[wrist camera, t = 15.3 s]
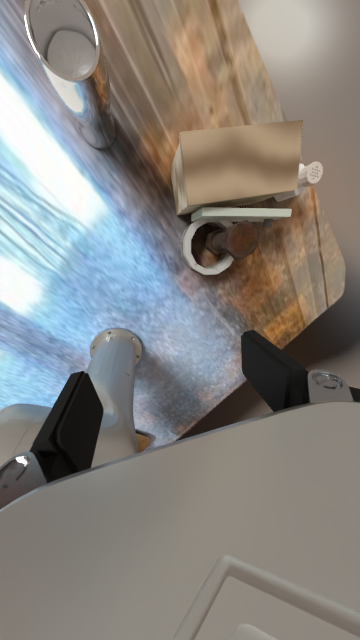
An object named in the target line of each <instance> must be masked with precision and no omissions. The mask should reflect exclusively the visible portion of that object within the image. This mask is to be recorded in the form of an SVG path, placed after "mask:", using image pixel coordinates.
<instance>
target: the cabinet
mask: <svg viewBox="0 0 360 640" xmlns="http://www.w3.org/2000/svg"><path fill="white" fill-rule="evenodd" d="M302 125H303V120H299V121H288V122H278V123H268V124H257V125H247V126H237V127H226V128H216V129H206V130H195V131H185V132H180V134H179V140H180V143H179V146H178V149H177V151H176V154H175V157H174V160H173V162H172V165H171V168H170V172H171V179H172V186H173V193H174V200H175V207H176V214H177V215H184V214H190V213H195V212H196V211H198V210H199V209H201V208H202V207H218V208H230V207H236V206H243V205H249V204H255V203H258V202H260V201H263V200H266V199H268V198H271V197H273V196H276V195H279V194H281V193H284V192H291V191H295V190H297V186H298V174H299V162H300V150H301V138H302ZM192 223H193V222H192ZM192 223H191V224H192ZM191 224H190V225H191ZM205 224H209V225H211V226H213V227H215V228H217V229H222V230H224V229H223V228H222V227H220V226H219V225H217V224H216V223H205ZM190 225H189V226H190ZM203 225H204V224H203ZM189 226H188V227H187V228H186V229H185V230H184V233H183V236H182V239H181V241H180V243H181V244H180V248H181V255H182V259H183V260H184V261H185V263H186V264H187V265H188V266H189V264H188V262H187V261H186V259H185V257H184V254H183V238H184V236H185V234H186V232H187V230H188V228H189ZM224 231H225V230H224ZM226 254H227V252H226V251H224V252H222V253H221V256H220V258H219V259H218V260H217V261H216V262H215V263H214V264H213V265H211V266H206V267H203V268H213V267H215V266H217V265H218V264H220V263H221V262H222V261H223V260H224V258H225V256H226ZM189 268H191V267H190V266H189ZM191 269H193V268H191ZM193 270H194V269H193ZM195 271H196V270H195Z"/></svg>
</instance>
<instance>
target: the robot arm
mask: <svg viewBox="0 0 360 640" xmlns="http://www.w3.org/2000/svg"><path fill="white" fill-rule="evenodd" d="M132 337H133V338H132ZM241 351H242V372H243V374H244V376H245V377H246V378H247V379H248V381H249V382H250V383H251V384H252V386H253V387H254V388H255V389H256V391H257V392H258V393H259V394H260V395H261V397H262V398H263V399H264V400H265V402H266V403H267V404H268V405H269V407H270V408H271V409H272V410H273V413H269V414H266V415H262V416H259V417H256V418H252V419H249V420H245V421H242V422H239V423H235V424H232V425H228V426H225V427H222V428H219V429H215V430H212V431H209V432H205V433H202V434H199V435H196V436H192V437H189V438H185V439H183V440H179V441H176V442H172V443H169V444H166V445H162V446H159V447H156V448H153V449H150V450H146V451H143V452H140V453H138V443H137V437H136V431H135V426H134V418H133V397H134V379H135V365H136V364H137V363H138V362H139V360H140V359H141V355H142V345H141V342H140V340H139V339H138V337H137V336H136V335H135V334H133V333H132V332H130V331H128V330H125V329H121V328H111V329H107V330H104V331H102V332H100V333H99V334H98V335H97V336H96V337H95V338H94V339H93V341H92V343H91V346H90V356H91V359H92V360H91V362H90V364H89V366H88V369H87V371H86V373H85V372H84V371H81V372H77V373H73V374H71V375H70V377H69V379H68V381H67V382H66V384H65V386H64V388H63V390H62V391H61V393H60V395H59V397H58V399H57V400H56V402H55V404H54V406H53V408H51V407H46V406H39V405H33V404H14V405H10V406H7V407H5V408H3V409H1V410H0V640H360V389H357V388H353V387H349V386H348V384H347V382H346V381H345V379H343V378H342V377H341V376H339V375H337V374H335V373H333V372H331V371H326V370H313V371H311V372H308V371H306V370H305V367H303V366H302V365H301V364H299V363H298V362H297V361H295V360H294V359H293V358H291V357H290V356H288V355H287V354H286V353H284V352H283V351H282V350H280V349H279V348H278V347H276V346H275V345H273V344H272V343H271V342H269V341H268V340H267V339H265V338H264V337H263V336H261V335H260V334H258V333H257V332H256V331H254V330H251V331H246V332H244V333H243V335H242V336H241Z"/></svg>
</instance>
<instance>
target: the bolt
mask: <svg viewBox="0 0 360 640" xmlns="http://www.w3.org/2000/svg"><path fill="white" fill-rule="evenodd" d="M257 242H258V231H257V229H256V228H255V227H254V225H253V224H252V223H251V222H249V221H248V220H243V221H241V222H238V223H236V224H234V225H232V226H229V227H227V228H226V232H225V231H224V230H222V229H218V230H215V231H213V232H211V233H209V234H208V236H207V237H206V239H205V243H204V246H205V248H207V249H208V250H209V251H211V252H212V253H213V254H215V255H216V254H219V253H221V252H224V251H226V252H227V253H228V254H229V255H230V256H232V257H233V258H234V259H240V258H243V257H245V256H248V255H250V254H252V253H253V252H254V250H255V248H256V245H257Z"/></svg>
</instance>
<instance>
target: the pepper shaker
mask: <svg viewBox="0 0 360 640" xmlns="http://www.w3.org/2000/svg"><path fill="white" fill-rule="evenodd" d="M322 173H323V167H322V164H320V163H319V162H313V163H311V164H310V165H308V166H304V165H303V164H299V174H298V186H297V190H295V191H291V192H284V193H281V194H279V195H276V196H273V197H274V198H275V200H276V201H277V202H280V201H283V200H286V199H289V198H292V197H295V196H297V195H299V194H300V193H301V192H302V191H303V190H304V189H305V187H307V186H310V185H313V184H315V183H317V182H318V181H319V180H320V178H321V176H322Z"/></svg>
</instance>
